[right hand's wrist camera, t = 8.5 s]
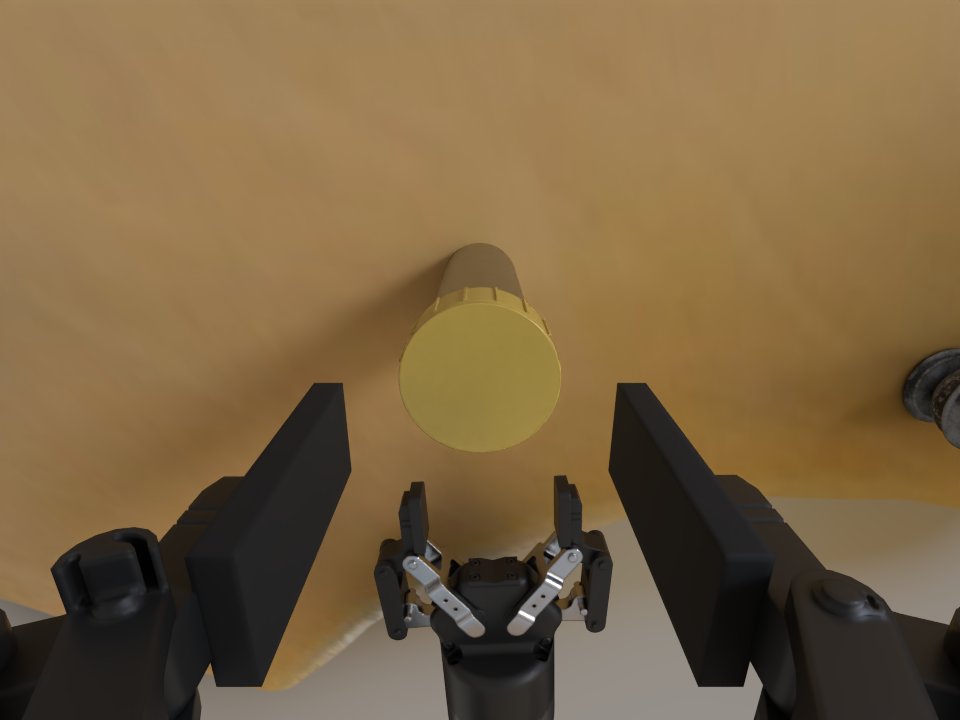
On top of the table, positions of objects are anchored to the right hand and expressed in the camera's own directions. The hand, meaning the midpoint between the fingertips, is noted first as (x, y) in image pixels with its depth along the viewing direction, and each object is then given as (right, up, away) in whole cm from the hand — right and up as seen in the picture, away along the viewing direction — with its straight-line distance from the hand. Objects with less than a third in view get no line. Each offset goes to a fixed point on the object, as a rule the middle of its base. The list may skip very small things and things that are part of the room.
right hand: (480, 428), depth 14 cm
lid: (0, +1, +3) cm, 4 cm away
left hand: (0, -5, +16) cm, 17 cm away
